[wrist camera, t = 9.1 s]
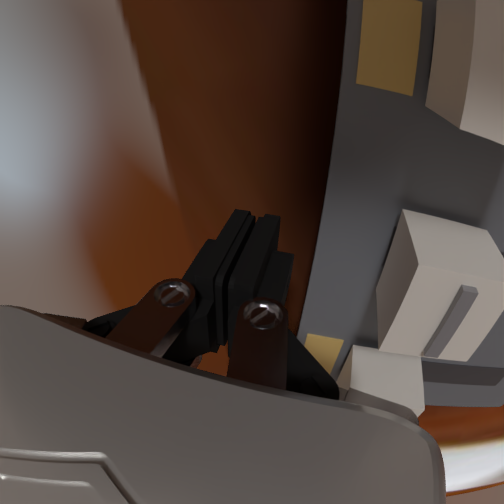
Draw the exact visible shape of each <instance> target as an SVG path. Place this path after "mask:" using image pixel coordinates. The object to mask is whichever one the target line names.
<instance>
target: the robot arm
mask: <svg viewBox="0 0 504 504" xmlns="http://www.w3.org/2000/svg"><path fill="white" fill-rule="evenodd" d="M255 220H256V218H255V216H252V215H251V212H250V211H245V210H238V209H235V210H234V212H233V213H232V215H231V217H230V218H229V220H228V221H227V223H226V225H225V226H224V228H223V229H222V231H221V233H220V234H219V236H218V237H217V239H216V240H213V239H208V240H207V241H206V242H205V244H204V245H203V247H202V248H201V250H200V251H199V253H198V254H197V256H196V257H195V259H194V261H193V262H192V264H191V265H190V267H189V269H188V270H187V271H186V273H185V275H184V276H183V278H182V279H178V278H171V279H166V280H163V281H161V282H158V283H157V284H156V285H154V286H153V287H152V288H151V289H150V290H149V291H148V293H147V294H146V295H145V296H144V297H143V298H142V299H141V300H140V301H139V302H138V303H137V304H136V305H134V306H131V307H128V308H125V309H122V310H119V311H115V312H112V313H109V314H106V315H103V316H100V317H97V318H94V319H92V320H90V321H89V322H87V321H86V319H82V318H75V317H68V316H60V315H55V314H48V313H40V312H37V311H34V310H31V309H27V308H24V307H19V306H12V305H0V504H446V480H445V469H444V463H443V458H442V454H441V451H440V448H439V446H438V444H437V442H436V441H435V439H434V438H433V437H432V436H431V435H430V434H429V433H428V432H426V431H425V430H424V429H422V428H421V427H419V421H418V418H417V416H416V414H415V413H414V412H413V411H412V410H411V409H410V408H408V407H406V406H403V405H400V404H397V403H394V402H391V401H388V400H385V399H382V398H379V397H376V396H373V395H370V394H367V393H364V392H362V391H359V390H356V389H353V388H349V390H346V389H343V388H341V387H338V385H337V383H336V382H335V380H334V379H333V378H332V377H331V376H330V374H329V373H328V372H327V371H326V370H325V369H324V368H323V367H322V366H321V364H320V363H319V362H318V361H317V360H316V359H315V358H314V357H313V355H312V354H311V353H310V352H309V351H308V350H307V349H306V348H305V347H304V345H303V344H302V343H301V342H300V341H299V340H298V339H297V338H296V336H295V335H294V334H293V333H292V332H291V331H290V330H289V328H288V312H287V310H286V308H285V307H284V305H285V301H286V297H287V292H288V288H289V283H290V278H291V272H292V266H293V259H294V254H290V253H285V252H279V251H277V247H278V237H279V228H280V216H276V215H270V214H265V216H264V217H259V218H258V220H257V222H256V224H255ZM227 340H228V357H229V358H230V360H229V365H228V371H227V377H225V376H221V375H218V374H214V373H210V372H207V371H203V370H199V369H196V368H197V367H198V365H199V364H200V362H201V359H202V354H205V353H207V352H210V351H211V352H215V353H217V351H218V349H219V346H220V345H223V346H225V345H226V342H227Z"/></svg>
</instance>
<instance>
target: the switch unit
mask: <svg viewBox="0 0 504 504" xmlns="http://www.w3.org/2000/svg"><path fill="white" fill-rule="evenodd" d="M436 7H437V0H347V12H346V26H345V38H344V50H343V60H342V71H341V80H340V89H339V98H338V106H337V114H336V122H335V130H334V137H333V144H332V151H331V158H330V165H329V171H328V178H327V184H326V190H325V196H324V202H323V208H322V214H321V220H320V225H319V231H318V236H317V242H316V247H315V252H314V258H313V263H312V268H311V273H310V278H309V283H308V287H307V292H306V297H305V302H304V306H303V311H302V315H301V320H300V324H299V329H298V333H297V337H296V338H297V339H298V340H299V341H300V342H301V343H302V344H303V345H304V347H305V348H306V349H307V350H308V351H309V352H310V353H311V354H312V355H313V357H314V358H315V359H316V360H317V361H318V362H319V363H320V364H321V366H322V367H323V368H324V369H325V370H326V371H327V372H328V373H329V374H330V376H331V377H332V378H333V379H334V380H335V382H336V381H337V379H338V377H339V375H340V373H341V370H342V368H343V366H344V364H345V362H346V360H347V357H348V355H349V353H350V351H351V349H352V346H353V345H357V346H363V347H370V348H376V349H378V319H377V298H376V287H377V285H378V282H379V279H380V276H381V274H382V271H383V268H384V265H385V262H386V259H387V256H388V254H389V251H390V248H391V244H392V241H393V238H394V235H395V232H396V229H397V226H398V222H399V219H400V216H401V212H402V209H405V210H410V211H414V212H418V213H422V214H427V215H431V216H435V217H439V218H443V219H447V220H451V221H455V222H459V223H462V224H466V225H470V226H474V227H477V228H481V229H485V230H487V231H488V232H489V234H490V236H491V237H492V239H493V241H494V242H495V244H496V246H497V247H498V249H499V251H500V252H501V254H502V256H503V258H504V145H502V144H500V143H497V142H495V141H492V140H489V139H487V138H484V137H481V136H479V135H476V134H473V133H470V132H467V131H464V130H461V129H459V128H458V127H456V126H455V125H453V124H452V123H450V122H449V121H447V120H446V119H444V118H443V117H441V116H440V115H438V114H437V113H435V112H434V111H432V110H431V109H429V108H427V107H426V106H425V103H426V98H427V91H428V85H429V78H430V71H431V63H432V55H433V46H434V36H435V23H436ZM421 365H422V375H423V388H424V404H425V405H437V406H461V407H501V406H502V405H503V404H504V310H503V312H502V313H501V315H500V316H499V318H498V319H497V321H496V322H495V324H494V325H493V327H492V328H491V330H490V331H489V333H488V334H487V335H486V337H485V338H484V340H483V341H482V342H481V344H480V345H479V346H478V348H477V349H476V350H475V352H474V353H473V354H472V356H471V357H470V358H469V359H468V361H467V362H464V361H454V360H444V359H435V358H427V357H421Z"/></svg>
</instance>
